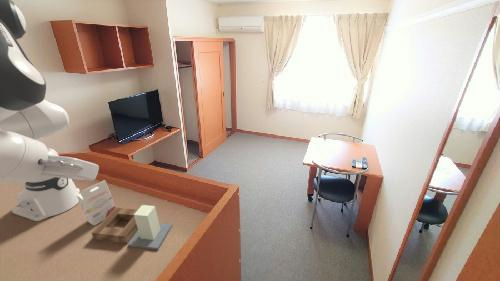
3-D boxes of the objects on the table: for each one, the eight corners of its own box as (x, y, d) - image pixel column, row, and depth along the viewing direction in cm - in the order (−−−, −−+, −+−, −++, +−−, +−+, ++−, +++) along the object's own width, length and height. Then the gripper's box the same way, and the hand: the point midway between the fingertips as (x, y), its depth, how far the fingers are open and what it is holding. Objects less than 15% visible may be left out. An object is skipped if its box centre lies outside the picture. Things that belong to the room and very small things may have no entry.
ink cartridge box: (110, 207, 90) (99, 175, 84) (117, 212, 87) (106, 179, 81) (86, 221, 83) (72, 187, 77) (93, 226, 81) (80, 192, 75)
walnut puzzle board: (94, 239, 76) (91, 232, 74) (118, 213, 86) (116, 207, 85) (127, 243, 74) (125, 236, 73) (147, 216, 85) (146, 210, 84)
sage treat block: (140, 238, 75) (133, 214, 71) (148, 228, 79) (142, 204, 75) (153, 239, 74) (147, 216, 70) (160, 229, 78) (155, 206, 74)
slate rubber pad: (128, 246, 73) (128, 244, 73) (145, 223, 82) (145, 221, 82) (158, 249, 72) (157, 248, 71) (172, 225, 81) (172, 224, 80)
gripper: (73, 147, 44) (118, 165, 57) (-18, 140, 46) (45, 158, 59) (60, 180, 42) (110, 190, 55) (-34, 171, 44) (35, 183, 57)
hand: (76, 174), depth 57 cm, fingers open, 8 cm apart
